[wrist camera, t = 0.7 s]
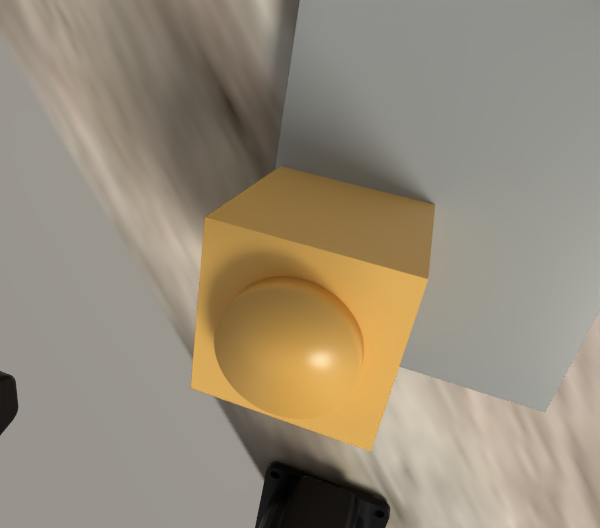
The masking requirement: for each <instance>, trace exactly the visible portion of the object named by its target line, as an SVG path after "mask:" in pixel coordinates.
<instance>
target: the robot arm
mask: <svg viewBox="0 0 600 528" xmlns="http://www.w3.org/2000/svg"><path fill="white" fill-rule="evenodd" d="M17 411H18V399H17V390H16V381H15V379H14V378H13V376H12V375H9V374H7V373H4V372H1V371H0V435H1V434H2V433H3V431H4V430H5V429H6V428H7V427H8V425H9V424H10V423H11V422H12V420H13V419H14V417H15V416H16V414H17ZM379 510H380V511H379ZM389 515H390V506H389V505H388V504H387V503H386V502H384V501H382V500H379V499H377V498H374V497H371V496H369V495H366V494H363V493H360V492H358V491H355V490H352V489H350V488H347V487H344V486H341V485H339V484H336V483H333V482H331V481H328V480H325V479H322V478H320V477H317V476H314V475H312V474H309V473H306V472H304V471H301V470H298V469H295V468H293V467H290V466H287V465H285V464H282V463H279V462H272V463H270V464H269V467H268V469H267V471H266V475H265V480H264V485H263V491H262V496H261V501H260V506H259V511H258V516H257V521H256V526H255V528H385V527H386V525H387V522H388V519H389Z"/></svg>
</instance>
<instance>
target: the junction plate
mask: <svg viewBox="0 0 600 528" xmlns="http://www.w3.org/2000/svg"><path fill="white" fill-rule="evenodd" d="M280 166H282V167H286V168H290V169H294V170H298V171H302V172H306V173H310V174H314V175H318V176H322V177H326V178H330V179H334V180H338V181H342V182H346V183H350V184H354V185H358V186H362V187H366V188H370V189H374V190H378V191H382V192H386V193H390V194H394V195H398V196H402V197H406V198H410V199H414V200H418V201H422V202H426V203H430V204H434V205H435V214H434V225H433V235H432V246H431V256H430V267H429V277H428V282H427V285H426V288H425V291H424V294H423V297H422V300H421V303H420V306H419V309H418V312H417V315H416V318H415V321H414V324H413V327H412V330H411V333H410V336H409V339H408V342H407V344H406V347H405V350H404V353H403V356H402V359H401V362H400V365H399V367H403V368H406V369H409V370H412V371H415V372H419V373H422V374H425V375H428V376H431V377H434V378H438V379H441V380H444V381H447V382H450V383H453V384H457V385H460V386H463V387H466V388H469V389H473V390H476V391H479V392H482V393H485V394H488V395H492V396H495V397H498V398H501V399H504V400H507V401H511V402H514V403H517V404H520V405H523V406H526V407H530V408H533V409H536V410H539V411H542V412H546V410H547V408H548V406H549V404H550V402H551V401H552V399H553V397H554V395H555V393H556V391H557V390H558V388H559V386H560V384H561V382H562V380H563V378H564V377H565V375H566V373H567V371H568V369H569V367H570V365H571V364H572V362H573V360H574V358H575V356H576V354H577V353H578V351H579V349H580V347H581V345H582V343H583V341H584V340H585V338H586V336H587V334H588V332H589V330H590V329H591V327H592V325H593V323H594V321H595V319H596V317H597V316H598V314H599V312H600V0H300V2H299V8H298V15H297V22H296V29H295V35H294V42H293V49H292V56H291V63H290V69H289V76H288V83H287V90H286V96H285V103H284V110H283V117H282V123H281V130H280V137H279V144H278V150H277V157H276V164H275V170H276V169H277V168H279V167H280Z"/></svg>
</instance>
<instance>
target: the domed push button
mask: <svg viewBox="0 0 600 528" xmlns="http://www.w3.org/2000/svg"><path fill="white" fill-rule="evenodd" d="M434 214H435V205H434V204H430V203H426V202H422V201H418V200H414V199H410V198H406V197H402V196H398V195H394V194H390V193H386V192H382V191H378V190H374V189H370V188H366V187H362V186H358V185H354V184H350V183H346V182H342V181H338V180H334V179H330V178H326V177H322V176H318V175H314V174H310V173H306V172H302V171H298V170H294V169H290V168H286V167H282V166H280V167H279V168H277V169H276V170H274V171H273V172H271V173H270V174H268V175H267V176H265V177H264V178H262V179H261V180H259V181H258V182H256V183H255V184H253V185H252V186H250V187H249V188H247V189H246V190H244V191H243V192H241V193H240V194H238V195H237V196H236V197H234V198H233V199H231V200H230V201H228V202H227V203H225V204H224V205H222V206H221V207H219V208H218V209H216V210H215V211H213V212H212V213H210V214H209V215H207V216H206V217H205V222H204V234H203V246H202V258H201V270H200V282H199V294H198V306H197V318H196V330H195V342H194V354H193V366H192V379H191V388H192V389H195V390H198V391H200V392H203V393H206V394H209V395H212V396H215V397H217V398H220V399H223V400H226V401H229V402H232V403H234V404H237V405H240V406H243V407H246V408H249V409H252V410H254V411H257V412H260V413H263V414H266V415H269V416H271V417H274V418H277V419H280V420H283V421H286V422H289V423H291V424H294V425H297V426H300V427H303V428H306V429H308V430H311V431H314V432H317V433H320V434H323V435H326V436H328V437H331V438H334V439H337V440H340V441H343V442H345V443H348V444H351V445H354V446H357V447H360V448H363V449H365V450H368V451H371V449H372V446H373V443H374V440H375V437H376V434H377V431H378V428H379V425H380V422H381V419H382V416H383V413H384V410H385V407H386V404H387V401H388V398H389V395H390V392H391V389H392V386H393V383H394V380H395V377H396V374H397V371H398V368H399V365H400V362H401V359H402V356H403V353H404V350H405V347H406V344H407V342H408V339H409V336H410V333H411V330H412V327H413V324H414V321H415V318H416V315H417V312H418V309H419V306H420V303H421V300H422V297H423V294H424V291H425V288H426V285H427V282H428V277H429V267H430V256H431V246H432V235H433V225H434Z"/></svg>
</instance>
